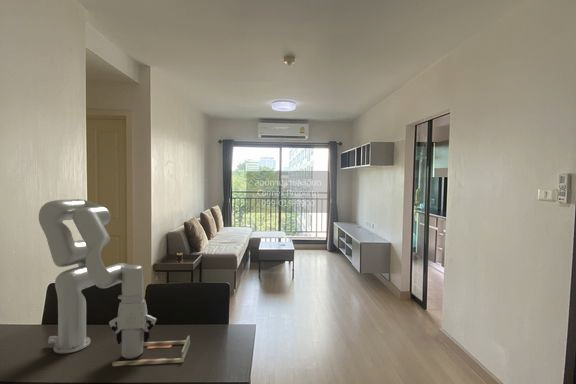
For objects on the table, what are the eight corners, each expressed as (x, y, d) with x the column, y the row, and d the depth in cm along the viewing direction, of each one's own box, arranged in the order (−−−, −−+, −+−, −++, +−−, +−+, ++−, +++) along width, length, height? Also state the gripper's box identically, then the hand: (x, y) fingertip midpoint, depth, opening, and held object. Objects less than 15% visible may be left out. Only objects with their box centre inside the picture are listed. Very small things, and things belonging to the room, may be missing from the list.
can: (146, 350, 130) (146, 320, 129) (136, 360, 122) (136, 329, 122) (129, 349, 130) (129, 319, 130) (117, 359, 123) (117, 327, 123)
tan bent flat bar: (112, 366, 118) (112, 356, 118) (127, 345, 133) (127, 337, 133) (183, 362, 121) (183, 353, 121) (190, 343, 136) (190, 334, 136)
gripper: (105, 302, 121) (105, 347, 121) (153, 300, 123) (153, 344, 123) (113, 295, 128) (113, 338, 129) (158, 293, 131) (159, 335, 131)
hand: (133, 341), depth 126 cm, fingers open, 9 cm apart
